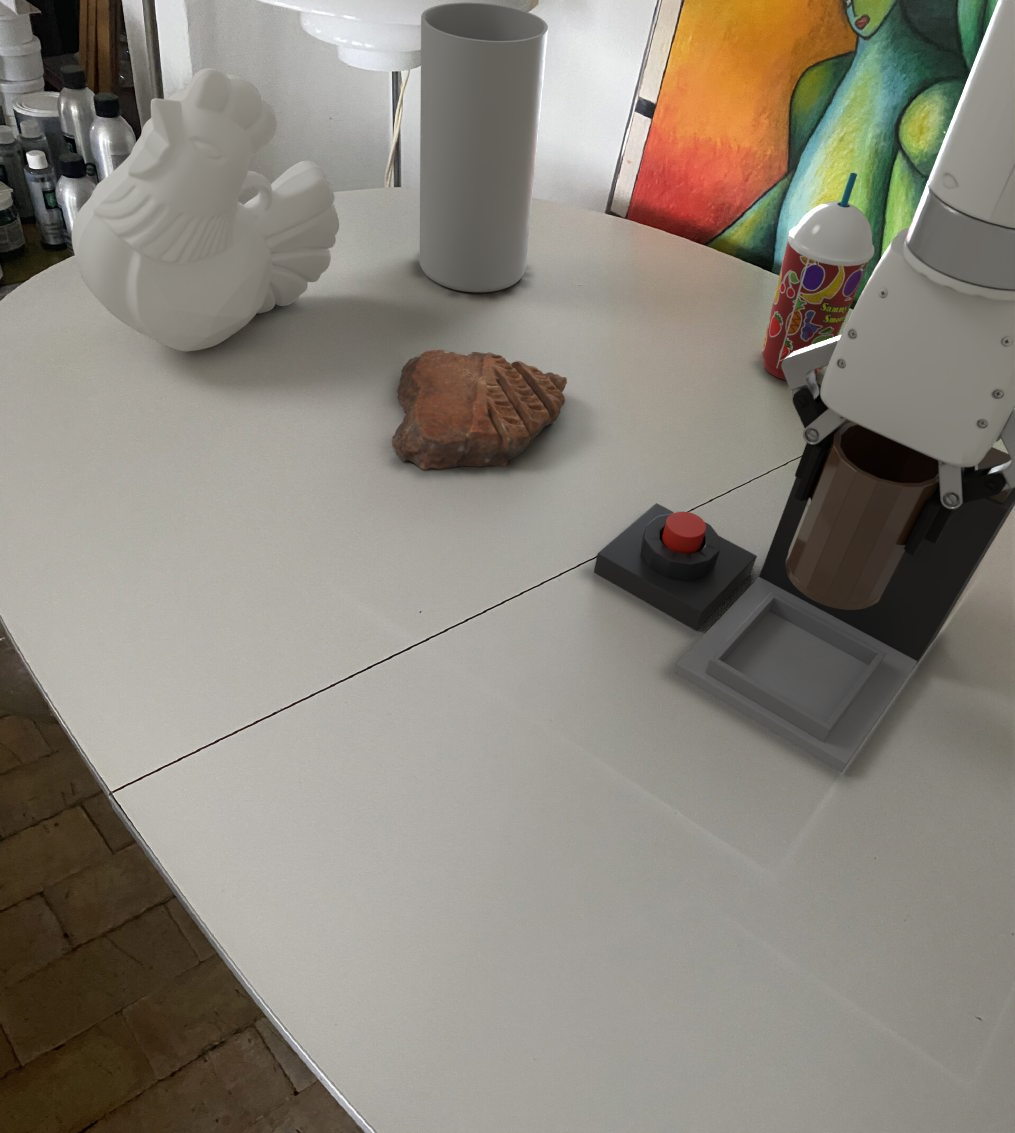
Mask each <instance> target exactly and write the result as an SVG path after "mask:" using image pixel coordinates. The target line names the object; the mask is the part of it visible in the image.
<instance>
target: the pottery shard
mask: <svg viewBox="0 0 1015 1133" xmlns="http://www.w3.org/2000/svg"><path fill="white" fill-rule="evenodd" d="M400 372H401V374H400V377H399V384H398V387H397V389H396V393H397V400H398V404H399V405H400V406H401V407H402V410H403V412H404V414H405V415H404V418H403V420H402V421H401V423H400V424H399V425H398V427H397V428H396V429H395V432H394V435H393V436H392V438H391V446H392V448H393V449H394V450H395V455H396V456H398V459H400V461H402V462H407V461H408V462H411V463H413V464H414V465H416V466H417V467H418V468H419V469H420V470H422V471H428V470H429V469H436V470H444V469H446V468H455V467H457V466H464V467H477V468H480V467H487V466H488V467H489V466H497V467H501V468H503V467H507V465H508V462H509V460H511V459H515V458H517V457H518V456H519V455H521V454H523V452H524V451H525V450H526V449H527V448H528V447H529V446H530V445H531V444H532V443H533V441H534V438H536V437H538V435H539V434H541V432H542V431H543V428H545V427H546V426H548V425H552V424H553V423H554V422H555V421H556V420H557V417H558V415H559V414H560V413H561V411H562V408H563V406H564V405H565V403H566V399H565V398H566V397H565V395H564V394H563V392H564V391H565V389H566V386H567V384H568V378H567V377H566V376H561V375H559V374H558V373H556V374H555V373H554V372H551V371H549V372H545V373H543V371H542V370H540V369H539V368H538V367H536V366H533V365H527V364H526V363H524V362H523V361H521V360H516V361H513V362H511V363H510V362H509V361H507V360H506V358H505V357H503V356H502V355H501V354H495V353H493V352H485V353H484V352H478V351H472V352H470V353H468V354H462V353H457V352H454V351H450V352H446V351H445V350H443V349H438V350H437V349H436V350H435V349H432V350H426V351H424V352H422V354H420V355H419V356H415V357H412V358H410V359H409V360H408V361H407V362H406V363H405V365H403V366H402V369H401V371H400Z"/></svg>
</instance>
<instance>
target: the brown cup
mask: <svg viewBox="0 0 1015 1133" xmlns="http://www.w3.org/2000/svg"><path fill="white" fill-rule="evenodd" d="M939 488H940V484H939V468H938V460H936V459H934V458H932V457H929V456H927V455H925V454H922V453H920V452H918V451H916V450H913V449H911V448H909V447H907V446H904V445H902V444H900V443H898V442H895V441H893V440H891V439H889V438H886V437H884V436H882V435H880V434H878V433H875V432H873V431H871V430H869V429H867V428H864V427H862V426H860V425H858V424H856V423H854V422H850V423H847V424H844V425H843V426H842V427H841V428H840V429H839V430H838V431H837V432H836V433H835V434H834V436H833V439H832V441H831V444H830V446H829V449H828V452H827V454H826V457H825V459H824V462H823V464H822V467H821V469H820V472H819V474H818V477H817V480H816V482H815V485H814V487H813V490H812V492H811V495H810V497H809V500H808V502H807V505H806V508H805V510H804V513H803V515H802V518H801V520H800V523H799V525H798V528H797V530H796V533H795V536H794V538H793V541H792V543H791V546H790V548H789V553H788V556H787V558H786V565H785V566H786V572H787V575H788V577H789V579H790V580H791V582H792V583H793V585H794V586H795V587H796V588H797V589H798V590H799V591H801V592H802V593H803V594H804V595H806V596H807V597H809V598H810V599H812V600H814V601H816V602H818V603H821V604H823V605H826V606H829V607H833V608H838V609H845V610H856V609H863V608H867V607H870V606H872V605H874V604H875V603H877V602H878V601H879V600H880V599H881V598H882V597H883V595H884V594H885V592H886V590H887V589H888V587H889V586H890V584H891V582H892V580H893V578H894V576H895V574H896V572H897V570H898V568H899V566H900V564H901V563H902V561H903V559H904V557H905V555H906V550H904V547H905V545H906V543H907V541H908V539H909V537H910V535H911V534H912V532H913V530H914V528H915V526H916V524H917V522H918V520H919V518H920V516H921V514H922V512H923V510H924V508H925V506H926V504H927V503H928V501H929V500H930V499H931V498H932V496H933V495H934V494H935V493H936V492H937V491H938V489H939Z"/></svg>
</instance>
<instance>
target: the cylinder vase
mask: <svg viewBox="0 0 1015 1133" xmlns="http://www.w3.org/2000/svg"><path fill="white" fill-rule="evenodd" d="M548 31H549V26H548V24H547V22H546V21H545V20H544V19H543V18H541V17H540V16H538V15H536V14H534V13H532V12H529V11H527V10H523V9H520V8H517V7H512V6H509V5H508V6H507V5H503V4H495V3H489V2H488V3H486V2H450V3H443V4H438V5H434V6H431V7H429V8H427V9H425V10H424V11H423V12H422V13H421V15H420V117H419V118H420V120H419V122H420V125H419V126H420V127H419V129H420V130H419V132H420V133H419V136H420V137H419V141H420V142H419V264H420V267H421V270H422V271H423V273H424V274H425V275H426V276H427V277H428V278H429V279H430V280H432V281H433V282H435V283H437V284H438V285H440V286H443V287H445V288H447V289H448V288H449V289H450V290H455V291H459V292H464V293H465V292H466V293H491V292H492V293H493V292H497V291H501V290H505V289H508V288H510V287H512V286H513V285H515V284H517V283H518V282H519V281H520V280H521V279H522V278H523V276H524V275H525V272H526V269H527V260H528V248H529V238H530V230H531V229H530V228H531V227H530V226H531V219H532V218H531V217H532V207H533V206H532V205H533V197H534V196H533V194H534V185H535V175H536V174H535V172H536V163H537V162H536V161H537V154H538V153H537V150H538V140H539V139H538V138H539V129H540V118H541V109H542V108H541V107H542V98H543V88H544V76H545V65H546V54H547V45H548V44H547V42H548Z"/></svg>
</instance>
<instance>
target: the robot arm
mask: <svg viewBox="0 0 1015 1133" xmlns="http://www.w3.org/2000/svg"><path fill="white" fill-rule="evenodd" d="M781 366H782V370H783V372H784V375H785V378H786V380H785V381H786V383H787V386H788V388H789V391H791V393H792V395H793V396H792V404H793V406H794V409H795V411H796V413H797V415H798V418H799V419H800V422H801V424H802V426H803V428H804V429H803V431H802V438H803V440H804V441H805V442H806V444H805V446H804V449H803V451H802V454H801V457H800V459H799V461H798V462H799V463H798V464H797V468H796V470H795V474H794V477H795V478H796V477H797V478H799V479H801V481H800V483H799V486H798V489H797V491H796V494H795V498H796V499H798V500H800V501H803V500H805V501H806V500H807V499H808V498H809V497H810V495H811V492H812V490H813V487H814V485H815V482H816V480H817V477H818V474H819V472H820V469H821V467H822V464H823V462H824V459H825V457H826V454H827V452H828V449H829V446H830V444H831V441H832V439H833V436H834V434H835V433H836V432H837V431H838V430H839V429H840V427H839V426H840V425H841V424H842V423H844V422H845V421H846V420H849V421H851V422H854V423H856V424H858V425H860V426H862V427H864V428H867V429H869V430H871V431H873V432H875V433H878V434H880V435H882V436H884V437H886V438H889V439H891V440H893V441H895V442H898V443H900V444H902V445H904V446H907V447H909V448H911V449H913V450H916V451H918V452H920V453H922V454H925V455H927V456H929V457H932V458H934V459H936V460H938V468H939V484H940V488H939V489H938V491H937V492H936V493H935V494H934V495H933V496H932V498H931V499H930V500H929V501H928V503H927V504H926V506H925V508H924V510H923V512H922V514H921V516H920V518H919V520H918V522H917V524H916V526H915V528H914V530H913V532H912V534H911V535H910V537H909V539H908V541H907V543H906V545H905V547H904V550H906V553H907V554H909V555H911V556H914V555H915V554H916V552H917V551H918V550H919V549H920V547H921V546H922V545H923V544H924V542H925V541H926V540H927V541H929V542H931V543H933V544H936V543H937V541H938V540H939V539H940V537H941V536H942V534H943V533H944V531H945V529H946V527H947V526H948V524H949V522H950V520H951V518H952V516H953V515H954V513H955V511H956V509H957V508H958V507H959V506H960V505H961V504H963V503H967V502H971V501H975V500H979V499H983V498H987V497H990V496H994V495H997V494H999V493H1000V492H1001V491H1003V490H1007V489H1012V488H1015V0H997V2H996V5H995V7H994V10H993V13H992V15H991V18H990V21H989V24H988V26H987V28H986V31H985V34H984V36H983V38H982V41H981V44H980V47H979V49H978V51H977V55H976V56H975V60H974V62H973V65H972V67H971V69H970V72H969V75H968V78H967V80H966V83H965V85H964V88H963V90H962V93H961V96H960V98H959V100H958V103H957V105H956V109H955V111H954V113H953V117H952V118H951V121H950V124H949V126H948V128H947V132H946V133H945V137H944V138H943V141H942V143H941V146H940V149H939V151H938V154H937V156H936V159H935V162H934V164H933V167H932V170H931V171H930V173H929V177H928V180H927V182H926V185H925V187H924V190H923V192H922V196H921V197H920V200H919V203H918V205H917V208H916V210H915V213H914V215H913V218H912V220H911V223H910V225H909V227H906V228H903V229H901V230H900V231H899V232H898V233H897V234H896V235H895V236H894V237H893V239H892V240H891V242H890V243H889V245H888V246H887V247H886V249H885V250H884V252H883V254H882V256H881V258H880V259H879V261H878V263H877V264H876V266H875V268H874V270H873V271H872V273H871V275H870V277H869V279H868V280H867V283H865V286H864V288H863V289H862V292H861V293H860V295H859V297H858V299H857V302H856V304H855V306H854V308H853V309H852V311H851V313H850V315H849V318H848V320H847V322H846V324H845V326H844V328H843V331H842V332H841V334H838V336H836V337H834V338H831V339H828V340H825V341H822V342H819V343H816V344H813V345H811V346H808V347H805V348H802V349H799V350H796V351H794V352H792V353H791V354H790V355H789V356H788V357H786V358H785V359H784V360H783V361H782V364H781ZM822 367H823V368H824V367H826V369H825V372H824V375H823V378H822V381H821V384H820V383H819V381H817V380H816V378H817V376H816V375H817V374H816V375H815V372H814V370H815V369H819V368H822ZM823 368H822V369H823ZM1000 440H1001V442H1002V443H1003V446H1004V447H1005V450H1006V453H1007V454H1009V456H1010V458H1011V461H1008V462H1007V463H1005V464H996V465H993V466H989V467H985V468H982V469H978V463H980V462H981V460H982V459H983V458H984V457H985V455H986V454H987V452H988V451H989V450H990V449H991V447H994V444H995V443H996V442H999V441H1000Z"/></svg>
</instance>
